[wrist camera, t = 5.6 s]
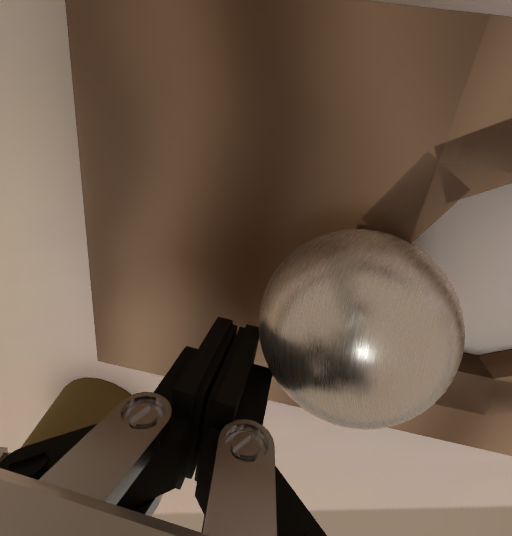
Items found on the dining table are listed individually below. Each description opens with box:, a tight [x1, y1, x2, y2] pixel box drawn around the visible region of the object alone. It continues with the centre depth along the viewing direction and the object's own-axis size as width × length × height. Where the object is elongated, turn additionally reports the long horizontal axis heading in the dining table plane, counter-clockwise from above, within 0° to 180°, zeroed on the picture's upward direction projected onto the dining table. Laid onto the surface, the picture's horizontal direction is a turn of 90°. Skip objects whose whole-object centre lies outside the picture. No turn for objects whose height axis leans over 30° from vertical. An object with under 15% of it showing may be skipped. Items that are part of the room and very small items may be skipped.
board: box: [65, 0, 512, 456], centre depth 13 cm, size 24×16×2 cm, turn 82°
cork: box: [21, 378, 131, 448], centre depth 16 cm, size 6×6×11 cm
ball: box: [259, 229, 465, 429], centre depth 10 cm, size 6×6×6 cm
